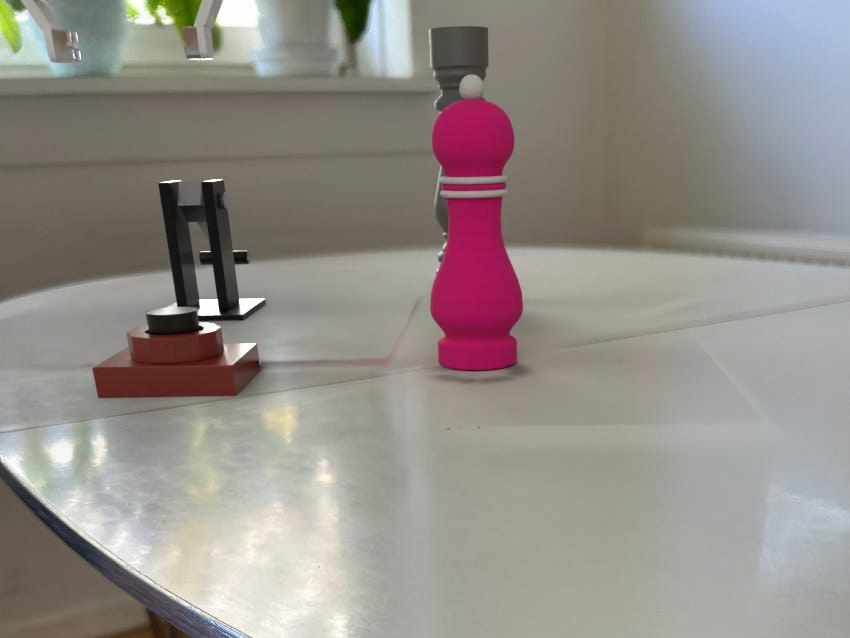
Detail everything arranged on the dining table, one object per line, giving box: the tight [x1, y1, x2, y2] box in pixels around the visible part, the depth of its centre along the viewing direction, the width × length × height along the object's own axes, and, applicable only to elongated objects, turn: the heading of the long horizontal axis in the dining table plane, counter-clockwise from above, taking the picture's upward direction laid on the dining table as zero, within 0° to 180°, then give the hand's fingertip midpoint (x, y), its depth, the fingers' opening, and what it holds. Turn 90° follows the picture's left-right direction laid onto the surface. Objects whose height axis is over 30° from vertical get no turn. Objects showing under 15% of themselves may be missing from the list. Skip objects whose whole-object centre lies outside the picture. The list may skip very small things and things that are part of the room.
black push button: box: [145, 306, 200, 335], centre depth 73 cm, size 4×4×2 cm
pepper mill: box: [429, 74, 524, 371], centre depth 75 cm, size 7×7×20 cm
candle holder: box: [428, 25, 490, 276], centre depth 100 cm, size 6×6×25 cm
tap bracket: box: [157, 178, 267, 322], centre depth 96 cm, size 10×9×13 cm
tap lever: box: [178, 180, 251, 266], centre depth 98 cm, size 12×5×2 cm
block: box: [91, 321, 261, 399], centre depth 74 cm, size 10×8×4 cm
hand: (132, 61), depth 65 cm, fingers open, 7 cm apart
